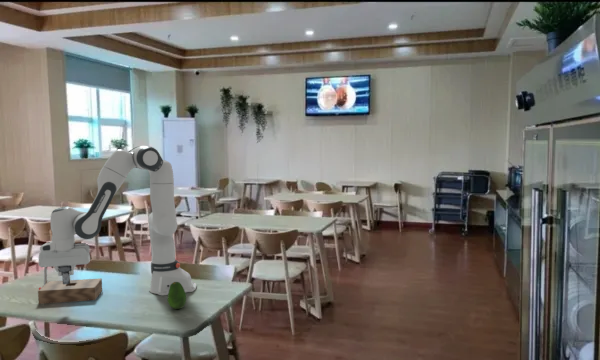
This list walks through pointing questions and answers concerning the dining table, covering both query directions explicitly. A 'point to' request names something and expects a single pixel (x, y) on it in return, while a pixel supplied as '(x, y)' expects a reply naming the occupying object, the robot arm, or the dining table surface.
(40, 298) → the hitch block
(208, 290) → the dining table surface
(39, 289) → the tow hook
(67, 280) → the steel pin
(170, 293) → the avocado
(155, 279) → the robot arm
